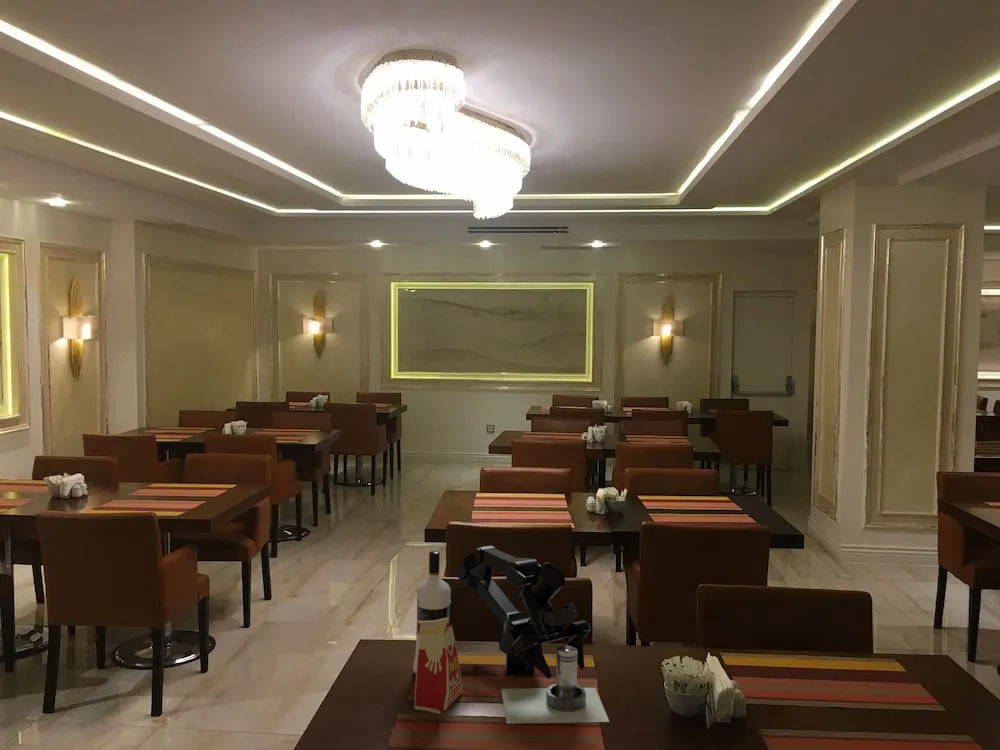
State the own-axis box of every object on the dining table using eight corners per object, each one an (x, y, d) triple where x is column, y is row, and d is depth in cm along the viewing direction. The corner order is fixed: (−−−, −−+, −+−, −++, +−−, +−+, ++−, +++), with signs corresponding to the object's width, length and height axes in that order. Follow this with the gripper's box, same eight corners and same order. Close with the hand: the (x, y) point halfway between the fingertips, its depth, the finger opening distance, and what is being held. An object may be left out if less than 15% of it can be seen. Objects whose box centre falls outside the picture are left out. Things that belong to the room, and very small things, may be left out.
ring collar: (549, 711, 176) (549, 700, 175) (544, 693, 184) (544, 683, 184) (588, 711, 176) (588, 700, 176) (581, 693, 185) (581, 682, 185)
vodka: (448, 681, 192) (450, 558, 190) (410, 679, 193) (411, 556, 191) (453, 665, 201) (455, 547, 199) (417, 663, 202) (418, 545, 200)
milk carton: (462, 697, 184) (463, 612, 183) (446, 716, 175) (448, 626, 174) (425, 690, 187) (427, 606, 186) (408, 708, 178) (409, 620, 177)
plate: (506, 728, 170) (506, 723, 170) (501, 693, 186) (501, 688, 186) (609, 727, 172) (609, 721, 172) (595, 692, 188) (595, 687, 188)
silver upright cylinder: (562, 708, 177) (564, 655, 176) (551, 699, 181) (552, 648, 180) (580, 704, 179) (581, 651, 179) (568, 695, 183) (570, 644, 183)
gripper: (520, 599, 178) (548, 667, 170) (587, 586, 188) (616, 649, 179) (500, 622, 185) (526, 688, 177) (566, 608, 195) (593, 670, 187)
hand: (566, 673), depth 180 cm, fingers open, 9 cm apart
